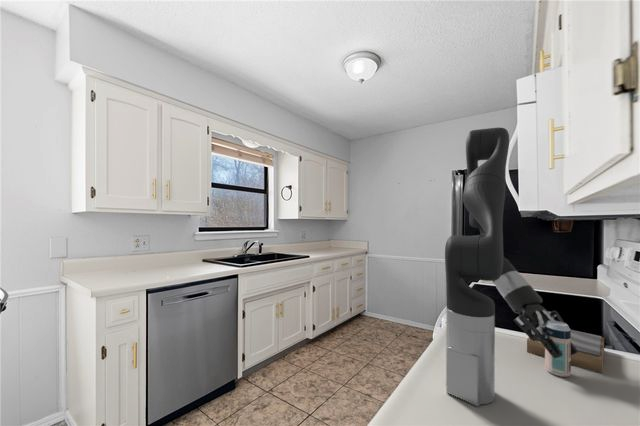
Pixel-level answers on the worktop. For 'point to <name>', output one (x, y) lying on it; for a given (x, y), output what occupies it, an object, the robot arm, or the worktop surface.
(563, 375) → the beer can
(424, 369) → the worktop surface
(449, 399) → the worktop surface
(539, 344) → the dock
